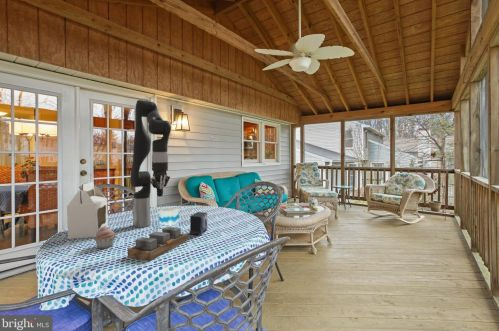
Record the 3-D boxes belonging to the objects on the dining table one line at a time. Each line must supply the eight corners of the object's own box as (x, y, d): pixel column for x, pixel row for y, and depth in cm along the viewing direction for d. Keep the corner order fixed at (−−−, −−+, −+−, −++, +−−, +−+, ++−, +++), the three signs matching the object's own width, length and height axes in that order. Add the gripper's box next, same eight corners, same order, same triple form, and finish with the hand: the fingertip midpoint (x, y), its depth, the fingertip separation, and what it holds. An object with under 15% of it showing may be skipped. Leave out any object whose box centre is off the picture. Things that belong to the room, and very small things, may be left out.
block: (149, 246, 123) (149, 234, 122) (156, 243, 127) (156, 231, 127) (163, 249, 120) (163, 236, 120) (169, 245, 124) (169, 233, 124)
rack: (127, 257, 113) (127, 241, 113) (167, 238, 138) (167, 225, 138) (150, 261, 109) (150, 244, 108) (187, 241, 134) (187, 227, 133)
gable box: (83, 227, 158) (82, 180, 157) (108, 226, 161) (106, 180, 160) (67, 239, 136) (65, 185, 135) (95, 237, 140) (94, 184, 138)
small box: (201, 235, 142) (200, 216, 142) (189, 235, 144) (189, 215, 143) (207, 230, 153) (207, 212, 152) (197, 229, 154) (197, 211, 154)
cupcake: (114, 248, 123) (113, 227, 122) (91, 251, 120) (91, 229, 120) (118, 242, 132) (117, 222, 131) (97, 244, 129) (96, 224, 129)
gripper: (162, 160, 137) (162, 193, 138) (144, 161, 125) (144, 197, 126) (174, 161, 134) (174, 194, 136) (156, 162, 122) (156, 199, 123)
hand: (159, 196), depth 131 cm, fingers closed
